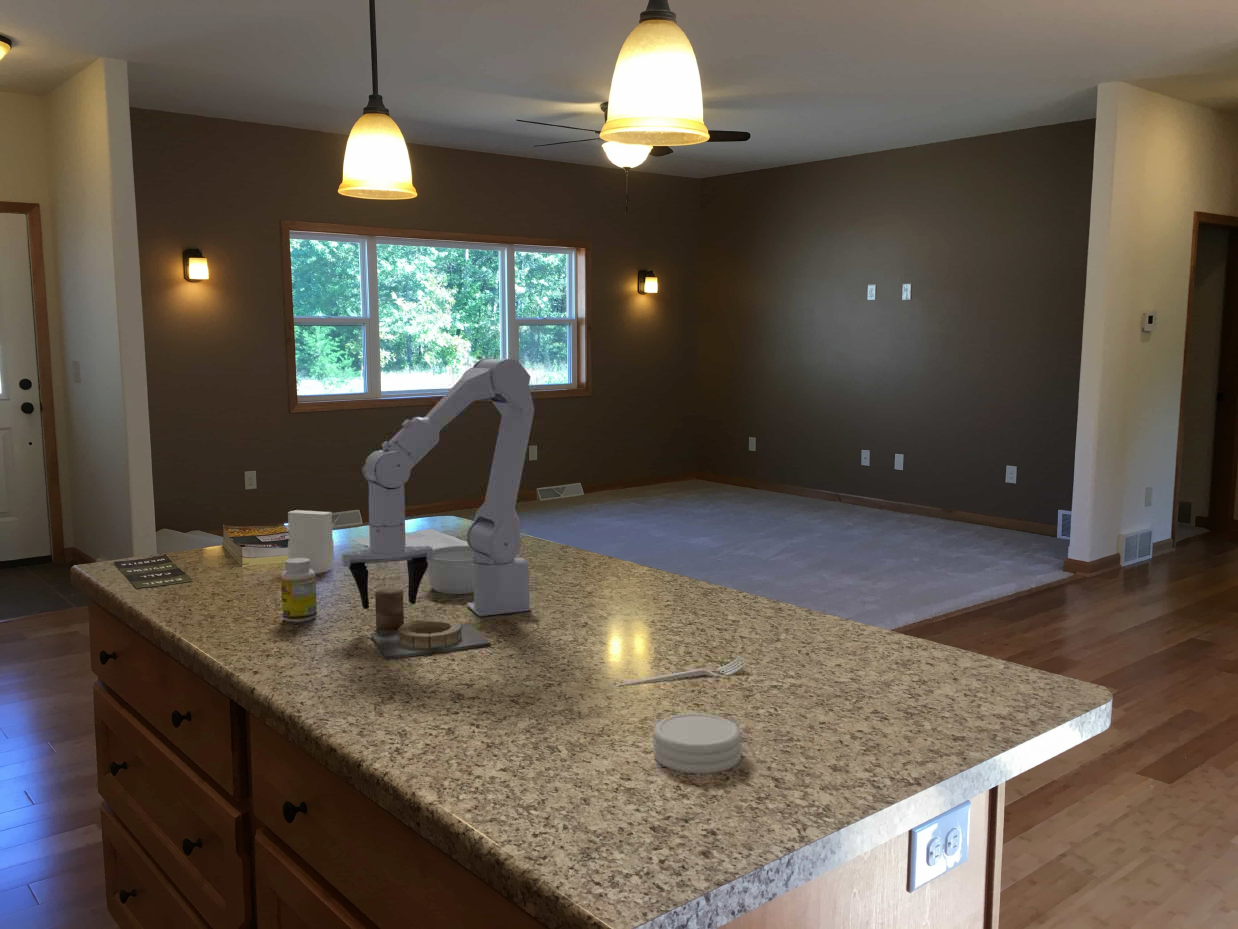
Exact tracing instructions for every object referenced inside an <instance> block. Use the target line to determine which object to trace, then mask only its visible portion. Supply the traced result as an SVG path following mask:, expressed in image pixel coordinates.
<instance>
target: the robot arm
mask: <svg viewBox="0 0 1238 929" xmlns="http://www.w3.org/2000/svg"><path fill="white" fill-rule="evenodd" d="M530 382H531V375H530V374H529V372H528V371H527V369H526V368H525V366H523V364H522V363H521V362H520V361H519V360H516V359H513V358H505V359H504V358H503V359H502V358H501V359H500V358H499V359H498V358H497V359H496V358H489V357H484V358H480V359H479V360H477V361H476V362H475V363H474V365H472V367H469V368H468V369H467V370H465V372H464V373H463V374H462V376H461V378H460V379H459V380H457V382H456V383H455V384H454V385H453V386H452V387H451V388H450V389H449V390H448V391H447V393H446V394H445V395H444V396H443V397H442V398H440V400H439V401H438V402H437V403H436V404H435V405H434V406H433V408H431V410H430V411H429V412H428V413H427V414H426V415H425V416H424V417H421V416H415V417H413V418H411V419H405V420H404V421H403V422H402V423H401V426H403V427H402V428H401V429H400V430H399V431H398V432H397V433H396V434H395V435H394V436H393V437H392V438H391V439H390V440H389V441H387V440H386V441H384V442H383V443H382V444H381V447H382V449H379V450H375V451H373V452H372V453H370V454H369V455H368V456H367V458H366V459H365V463H364V466H362V468H361V471H362V474H363V476H364V478H365V480H366V481H367V482H368V522H369V548H366V549H361V550H354V551H349V552H341V565H342V566H343V567H344V568H345V567H346V568H347V567H348V569H349V571H350V573H351V575H352V577H353V579H354V582H355V584H356V586H357V589H358V594H359V595H360V596H359V597H360V601H361V606H362V608H363V609H364V610H368V609H369V608H370V602H369V601H370V600H369V590H368V588H369V570H368V567H367V566H366V565H370V564H381V563H390V562H391V563H393V562H403V561H404V562H406V564H407V565H406V566H407V573H408V574H407V575H408V577H407V578H408V591H407V592H408V595H407V596H408V602H409V603H410V605H415V604H416V602H417V595H418V592H419V588H420V585H421V582H422V579H423V577H424V576H425V573H426V571H428V562H427V561H426V559H427V560H429V559H433V549H434V548H433V547H432V546H431V545H426V546H425V545H423V546H422V545H421V546H419V545H418V546H406V544H407V543H406V511H405V510H406V508H405V507H406V506H405V505H406V504H405V501H406V500H405V499H406V497H405V483H407V482H408V481H409V479H410V476H411V471H412V469H413V468H414V467H415V466H416V465H417V464H418V463H419V462H420V461H421V460H422V459H423V458H424V457H425V456H426V455H427V454H428V453H430V451H431V450H432V449H433V448H434V447H435V446H436V445H437V444H438V443H439V441H440V431H441V430H442V429H443V428H444V427H445V426H447V424H449V423H450V422H452V420H454V419H455V418H456V417H457V416H458V415H459V414H461V413H462V412H463V411H464V410H465V409H466V408H467V407H468V406H470V405H471V404H472V403H473V402H474V401H479V400H484V399H488V400H489V401H491V403H492V404H493V405H494V407H495V408H496V409H497V411H498V412H499V413H500V415H501V417H500V424H499V429H498V433H497V439H496V444H495V448H494V452H493V458H492V464H491V468H490V472H489V479H488V484H487V488H486V493H485V499H484V502H483V504H481V506H479V508H478V509H477V510H476V512H475V517H474V520H473V522H472V523H471V524H470V526H469V527H468V529H467V532H466V542H467V543H466V544H467V546H469V547H470V548H471V549H472V550H473V576H474V593H473V602H467V603H466V606H467V607H468V608H469V609H470V610H471V611H473V612H474V613H475V614H476V615H477V616H478V617H486V616H495V615H502V614H512V613H518V612H520V613H521V612H527V611H531V610H532V608H531V607H530V571H529V566H528V562H527V561H526V559H525V558H524V557H516V556H518V554H519V552H520V549H521V546H522V539H521V534H520V526H521V520H520V518H519V515H518V513H517V511H516V504H517V500H518V495H519V489H520V486H521V480H522V475H523V474H522V473H523V469H524V464H525V459H526V455H527V454H526V453H527V449H528V445H529V438H530V435H531V428H532V424H533V421H534V420H533V419H534V415H535V405H534V401H533V397H532V392H531V388H530Z"/></svg>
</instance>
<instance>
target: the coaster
mask: <svg viewBox="0 0 1238 929" xmlns="http://www.w3.org/2000/svg"><path fill="white" fill-rule="evenodd" d="M652 732H653V734H652V735H653V742H652V743H653V750H652V753H653V754H652V755H653V756H654V759H655V761H656V762H657V761H658V762H657V763H659V764H660V765H661V764H662V765H661V766H662V767H664V766H665V767H664V768H666V767H668V768H670V769H669V770H671V769H673V770H672V771H674V770H677V771H676V772H678V771H682V772H681V773H683V772H686V773H685V774H689V773H695V774H694V775H710V774H709V773H711V774H717V772H718V773H722V772H725V770H726V771H728V770H731V769H732V768H734V767H736V765H738V764H739V762H740V761H741V758H742V752H741V750H742V736H743V735H742V731H741V729H740V727H739V726H738V725H737V724H736V723H735V722H733V721H731V720H730V719H728V718H726V717H722V716H719V715H713V714H708V713H697V712H696V713H695V712H694V713H691V712H690V713H681V714H675V715H674V714H673V715H671V716H668V717H665V718H664V719H663V718H662V719H661V720H660V721H659V722H657V723H656V724H655V725H654V728H653V731H652ZM668 768H667V769H668Z"/></svg>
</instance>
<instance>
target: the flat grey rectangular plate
mask: <svg viewBox="0 0 1238 929" xmlns="http://www.w3.org/2000/svg"><path fill="white" fill-rule="evenodd" d="M370 636H371V639H372V641H374V643H375V645H376V646H377V648H378V649H379V650H380V651H381V653H382V654H383V656H384V657H385V659H386V660H393V659H399V658H408V657H416V656H423V655H432V654H438V653H439V654H440V653H446V652H454V651H462V650H463V651H464V650H469V649H477V648H478V649H479V648H483V647H491V644H492V643H491V641H490V640H488V639H487V638H486V637H485V636H484V635H483V634H482V633H481V632H480V631H479V630H477V629H476V628H475V627H474V626H473V625H472V623H470V622H465V623H459V622H458V621H455V620H450V619H448V618H447V619H445V618H443V619H441V618H427V619H418V620H413V621H410V622H406V623H404V625H402V626H401V627H400V628H398V630H397V631H388V632H383V633H381V632H380V633H373V634H371V635H370Z"/></svg>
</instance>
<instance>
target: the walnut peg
mask: <svg viewBox="0 0 1238 929" xmlns="http://www.w3.org/2000/svg"><path fill="white" fill-rule="evenodd" d="M374 596H375V598H374V601H375V628H376V630H378V631H384V632H387V631H388V632H393V631H396V630H397V631H398V628H400V627H401V626H402V625H404V624H405V618H404V617H405V616H404V614H405V613H404V611H405V609H404V589H401V588H397V587H387V588H381V589H377V590H375V592H374Z"/></svg>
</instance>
